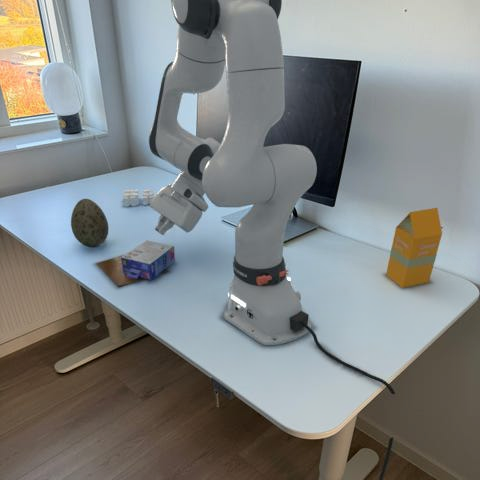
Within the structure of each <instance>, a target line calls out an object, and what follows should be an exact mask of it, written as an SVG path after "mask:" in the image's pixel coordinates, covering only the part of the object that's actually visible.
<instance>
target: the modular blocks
mask: <svg viewBox="0 0 480 480" xmlns="http://www.w3.org/2000/svg"><path fill="white" fill-rule="evenodd" d="M122 193H123V195H122V198H123V199H122V200H123V205H124V207H125V208H127V207H130V206H131V207H136V206H140V195H139V189H137V188H136V189H132V190H131V189H125V190H123V192H122ZM141 196H142V205H143V206H148V205H150V204H151V201H152V200H153V199H154V197H155V192H154V189H144V190H142V193H141Z"/></svg>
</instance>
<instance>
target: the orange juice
mask: <svg viewBox="0 0 480 480" xmlns="http://www.w3.org/2000/svg"><path fill="white" fill-rule="evenodd" d="M442 235H443V230H442V226H441V220H440V215H439V208H438V207H433V208H427V209H421V210H414V211H409V213H408V214H407V215H406V216H405V217H404V219H403V220H401V222H399V224H398V225H397V226H395V230H394V234H393V239H392V245H391V249H390V253H389V259H388V264H387V268H386V273H385V276H387V277H388V279H390V280H391V281H393V282H394V283H395V284H396V285H398V286H399V287H401V288H402V289H404V288H409V287H414V286H418V285H422V284H427V283H430V280H431V276H432V272H433V269H434V265H435V262H436V258H437V254H438V250H439V247H440V243H441V241H442V240H441V239H442Z"/></svg>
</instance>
